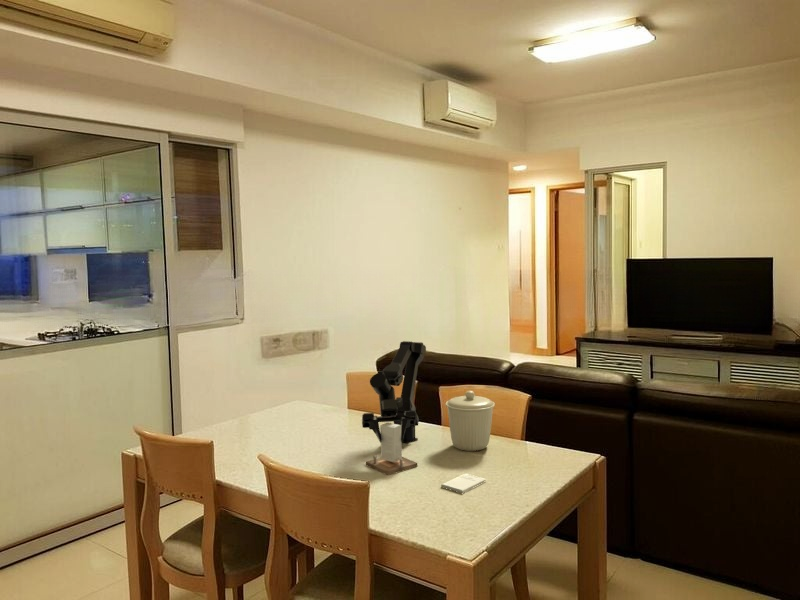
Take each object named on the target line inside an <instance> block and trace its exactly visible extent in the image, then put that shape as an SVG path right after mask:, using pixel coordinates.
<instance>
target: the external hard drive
mask: <svg viewBox="0 0 800 600" xmlns="http://www.w3.org/2000/svg"><path fill="white" fill-rule="evenodd" d="M484 481H486V482H487V479H486V478H484V477H481V476H477V475H473V474H470V473H467V472H466V473H463V474H461V475H458V476H457V477H454V478H452V479H450V480H448V481H446V482H444V483H441V485H440V487H441V488H442V487H444V488H443V489H445V488H447V489H446V490H448V489H451V490H454V491H453V492H455V491H457V492H456V493H458V492H460V493H459V494H461V493H464V492H466V491H467V492H469V491H471V490H473V489H474V488H473V487H475V486H477V485H479V484H481V483H483V482H484ZM483 484H484V483H483ZM481 485H482V484H481ZM479 486H480V485H479ZM477 487H478V486H477ZM472 488H473V489H472ZM475 488H476V487H475ZM470 489H471V490H470ZM451 490H450V491H451ZM468 490H469V491H468ZM467 492H466V493H467ZM464 494H465V493H464Z"/></svg>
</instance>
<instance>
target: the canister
mask: <svg viewBox="0 0 800 600" xmlns="http://www.w3.org/2000/svg"><path fill="white" fill-rule="evenodd" d="M495 404H496V402H494V401H492V400H491V399H489V398H488V397H485V396H480V395H479V396H477V395H475V392H474V391H473V390H467V391H465V394H464V395H461V396H455V397H452V398H450V399H449V400H447V401H446V402H445V406H446V407H447V408H446V409H447V414H448V423H449V424H448V425H449V432H450V437H451V442H452V445H453V447H455V448H456V449H459V450H461V451H464V452H465V451H468V452H475V451H476V450H477V451H481V450H484V449H486V448H487V447H488V445H489V442H490V438H491V430H492V421H493V411H494V410H493V409H494V407H495V406H496V405H495Z"/></svg>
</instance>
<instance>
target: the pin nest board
mask: <svg viewBox="0 0 800 600" xmlns="http://www.w3.org/2000/svg"><path fill="white" fill-rule="evenodd" d="M365 465H366V466H367V467H369V468H372V469H374V470H376V471H378V472H380V473H382V474H384V475H385V476H389V474H390V475H392V474H396V472H397V473H399V472H403V470H404V471H406V470H409V469H413V468H417V467H418V462H417V461H415V460H414V461H413V460H411V459H408V458H406V457H404V456H402V459H400V460H399V461H397V462H390V461H386V460H382V459H381V457H378V458H377V455H373V457H372V459H370V460H366V461H365Z"/></svg>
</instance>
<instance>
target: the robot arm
mask: <svg viewBox="0 0 800 600" xmlns="http://www.w3.org/2000/svg"><path fill="white" fill-rule="evenodd" d="M426 352H427V346H426V345H425V344H424V343H423V342H419V341H418V342H417V341H409V340H403V341H401V342H400V343H399V347H398V349H397V351H396V353H395V356H394V358H393V359H392V361H391V363H390V364H387V365H386V366H385V367H384V368H383V370H378V371H377V373H375V374H374V375H373V376H371V377H370V379H369V385H370V386H371V387H372V389H373V390H374V392H375V394H376V395H378V400H379V411H380V412H379V413H380V416H377V415H375V413H374V412H364V413H362V415H361V416H362V419H361V426H362V428H364V429H369V430H372V432H374V434H375V436H376V438H377V440H378V441H379V443H380V444H381V442H382V441H381V430H380V423H392V422H393V424H398V425H401V443H404V444H407V443H411V442H416V441H418V438H417V437H416V427H417V426H419V421H420V419H419V416H418V413H417V412H416V405H415V403H414V394H415V387H416V381H417V376H418V370H419V369H418V368H419V366H420V364H421V363H422V361H424V358H425V354H426ZM404 368H405V369H404ZM403 370H405V371H404V375H403ZM401 384H402V387H401V394H400V396H399V397H396V392H395V387H399V386H401Z"/></svg>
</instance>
